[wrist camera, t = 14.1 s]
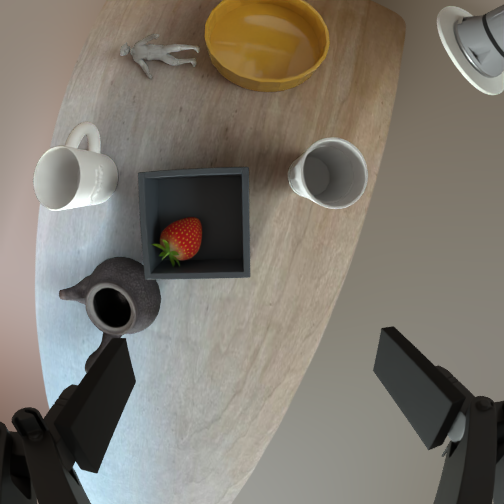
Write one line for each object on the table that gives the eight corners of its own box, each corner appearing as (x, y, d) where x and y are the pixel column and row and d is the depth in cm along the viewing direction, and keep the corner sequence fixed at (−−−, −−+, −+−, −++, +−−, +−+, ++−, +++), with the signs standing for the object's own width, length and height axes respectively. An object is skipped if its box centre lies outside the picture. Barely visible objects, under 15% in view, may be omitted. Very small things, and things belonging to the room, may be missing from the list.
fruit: (211, 212, 38) (172, 252, 33) (216, 241, 42) (182, 279, 37) (180, 203, 40) (141, 238, 35) (187, 230, 44) (153, 265, 39)
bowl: (316, 8, 36) (323, -5, 31) (325, 95, 39) (334, 87, 35) (209, 3, 34) (207, -11, 30) (206, 93, 38) (202, 83, 34)
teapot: (81, 243, 42) (48, 257, 32) (168, 263, 44) (151, 285, 34) (79, 341, 46) (55, 369, 36) (155, 364, 47) (142, 399, 37)
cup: (275, 158, 41) (290, 147, 29) (324, 144, 41) (356, 130, 29) (291, 209, 43) (312, 218, 31) (340, 194, 43) (375, 197, 31)
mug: (129, 131, 39) (96, 114, 27) (115, 207, 41) (78, 215, 29) (85, 128, 38) (45, 113, 26) (72, 200, 40) (29, 206, 29)
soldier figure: (192, 83, 39) (114, 81, 34) (190, 71, 41) (119, 69, 37) (203, 39, 33) (119, 35, 28) (200, 31, 35) (124, 27, 30)
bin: (246, 170, 41) (248, 166, 34) (247, 262, 44) (250, 277, 37) (153, 174, 41) (138, 172, 33) (158, 264, 43) (145, 279, 36)
